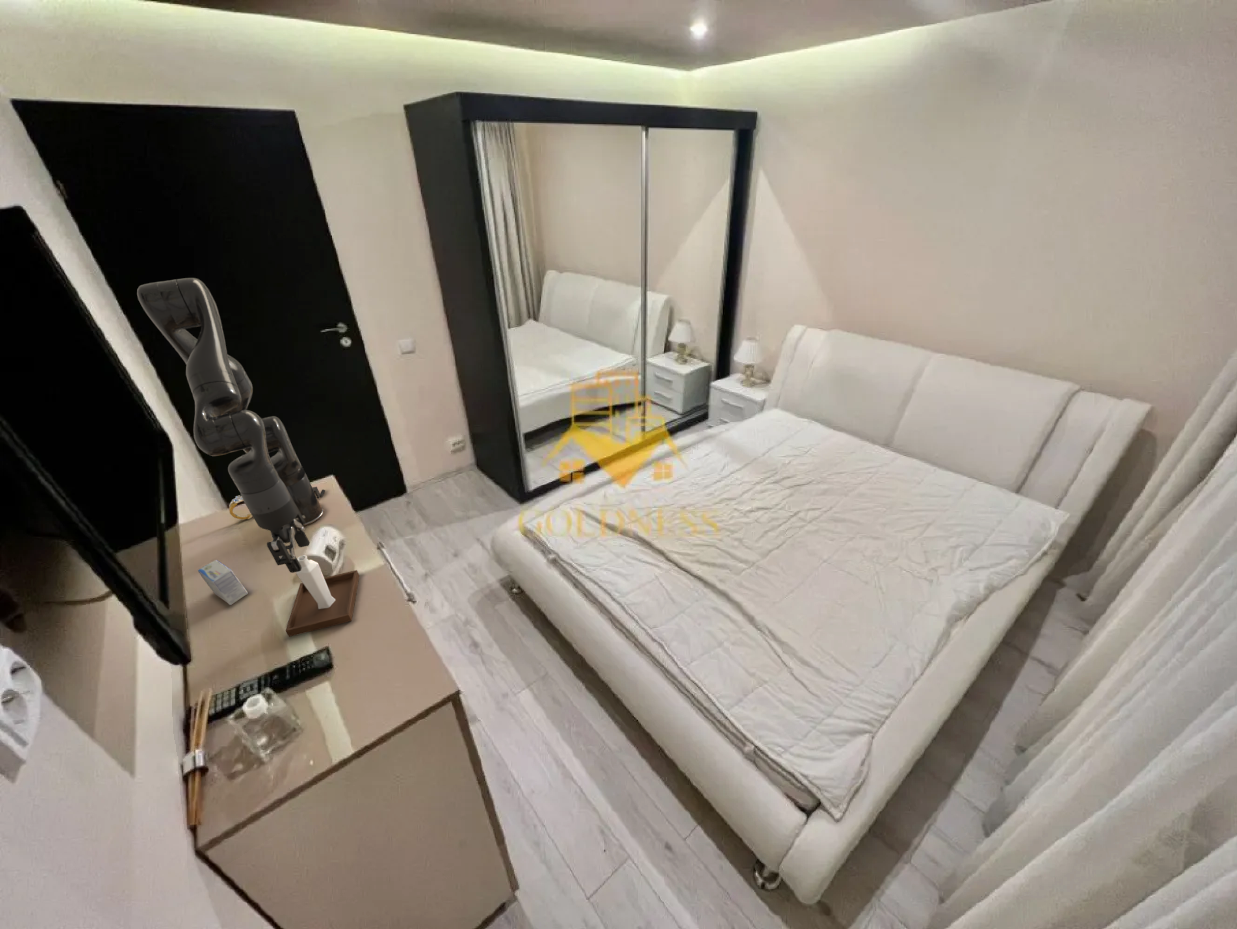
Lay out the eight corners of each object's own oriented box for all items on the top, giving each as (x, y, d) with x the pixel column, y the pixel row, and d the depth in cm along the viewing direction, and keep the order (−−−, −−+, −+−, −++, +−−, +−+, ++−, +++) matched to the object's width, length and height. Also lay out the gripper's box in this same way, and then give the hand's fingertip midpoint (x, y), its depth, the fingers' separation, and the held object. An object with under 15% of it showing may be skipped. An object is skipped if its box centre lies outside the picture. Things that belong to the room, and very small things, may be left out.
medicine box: (249, 594, 121) (232, 569, 116) (229, 606, 117) (212, 581, 113) (233, 582, 124) (216, 558, 119) (214, 594, 121) (196, 570, 116)
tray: (303, 589, 121) (300, 583, 120) (359, 575, 124) (356, 569, 123) (289, 637, 109) (285, 631, 108) (351, 620, 112) (348, 614, 111)
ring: (262, 510, 149) (250, 490, 145) (263, 516, 147) (251, 495, 143) (236, 519, 146) (223, 499, 142) (236, 525, 144) (223, 504, 140)
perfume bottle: (311, 606, 116) (285, 561, 107) (327, 594, 119) (303, 549, 111) (323, 613, 114) (297, 568, 106) (339, 600, 117) (316, 555, 109)
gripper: (281, 518, 94) (313, 575, 103) (297, 479, 106) (324, 534, 115) (237, 526, 93) (274, 584, 102) (259, 486, 104) (289, 541, 113)
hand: (300, 557), depth 108 cm, fingers open, 8 cm apart
